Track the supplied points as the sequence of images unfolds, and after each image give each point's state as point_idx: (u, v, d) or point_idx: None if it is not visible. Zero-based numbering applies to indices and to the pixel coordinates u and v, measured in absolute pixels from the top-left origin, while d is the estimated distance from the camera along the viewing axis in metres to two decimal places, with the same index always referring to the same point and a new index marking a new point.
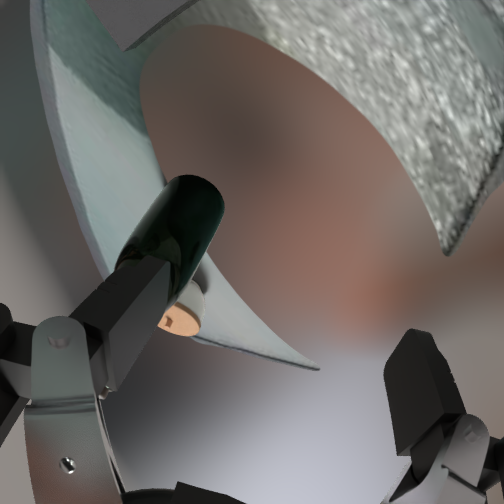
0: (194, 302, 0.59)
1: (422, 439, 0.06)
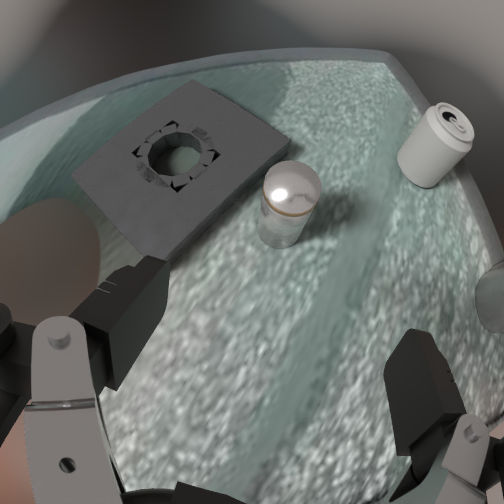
0: None
1: (422, 439, 0.06)
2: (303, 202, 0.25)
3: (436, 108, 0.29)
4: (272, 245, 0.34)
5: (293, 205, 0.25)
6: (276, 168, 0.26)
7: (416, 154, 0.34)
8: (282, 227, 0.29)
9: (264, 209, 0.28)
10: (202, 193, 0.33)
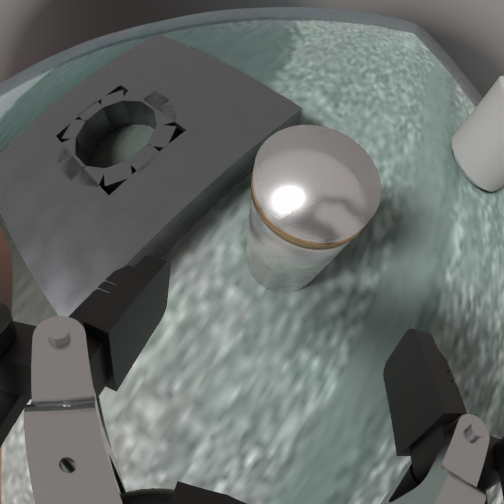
0: None
1: (422, 439, 0.06)
2: (345, 217, 0.10)
3: None
4: (272, 287, 0.19)
5: (323, 224, 0.10)
6: (281, 139, 0.11)
7: (485, 141, 0.19)
8: (292, 266, 0.14)
9: (255, 229, 0.13)
10: (148, 196, 0.18)
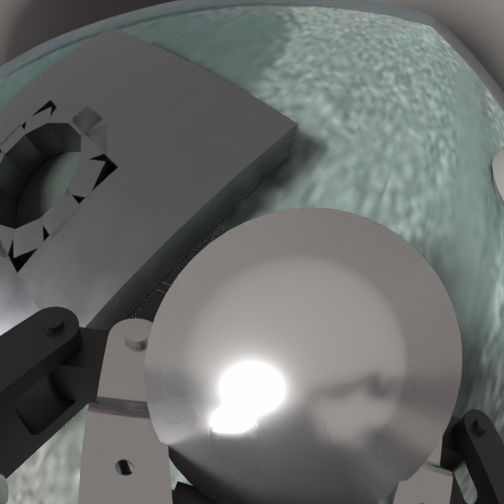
0: None
1: None
2: (371, 476, 0.03)
3: None
4: None
5: None
6: (224, 266, 0.04)
7: None
8: None
9: None
10: (61, 278, 0.11)
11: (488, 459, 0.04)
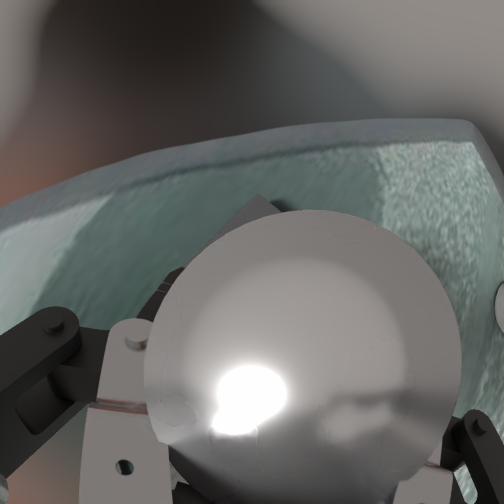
0: None
1: None
2: (370, 478, 0.03)
3: None
4: None
5: None
6: (224, 268, 0.04)
7: None
8: None
9: None
10: None
11: (488, 459, 0.04)
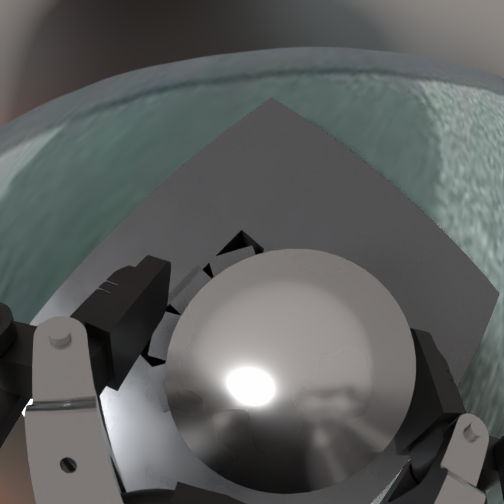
0: None
1: (421, 439, 0.06)
2: (338, 458, 0.05)
3: None
4: None
5: (293, 477, 0.05)
6: (224, 296, 0.06)
7: None
8: None
9: None
10: None
11: None
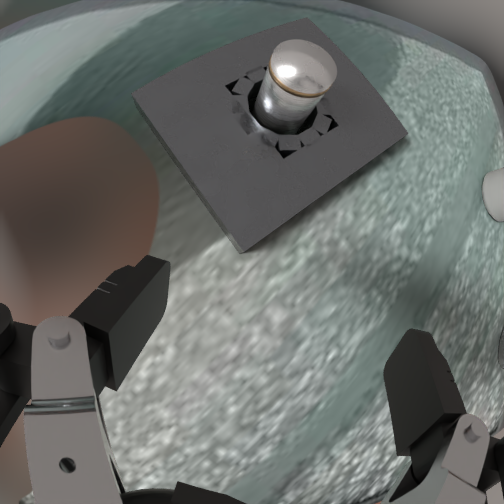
0: None
1: (422, 439, 0.06)
2: (312, 82, 0.19)
3: None
4: None
5: (300, 82, 0.19)
6: (290, 43, 0.19)
7: None
8: (281, 109, 0.23)
9: (265, 84, 0.22)
10: (313, 169, 0.26)
11: None
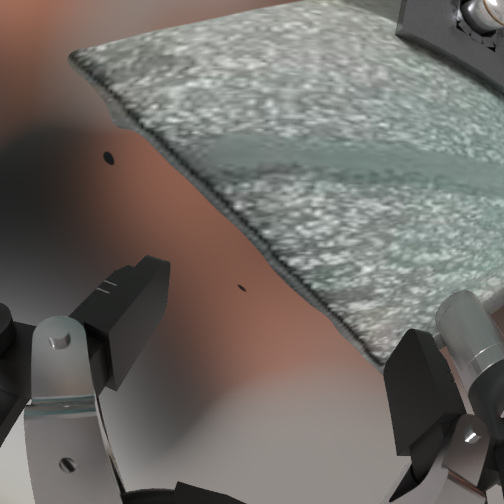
0: None
1: (422, 439, 0.06)
2: (498, 12, 0.16)
3: None
4: None
5: (493, 6, 0.16)
6: None
7: None
8: (475, 10, 0.20)
9: None
10: (465, 46, 0.25)
11: None
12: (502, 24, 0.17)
